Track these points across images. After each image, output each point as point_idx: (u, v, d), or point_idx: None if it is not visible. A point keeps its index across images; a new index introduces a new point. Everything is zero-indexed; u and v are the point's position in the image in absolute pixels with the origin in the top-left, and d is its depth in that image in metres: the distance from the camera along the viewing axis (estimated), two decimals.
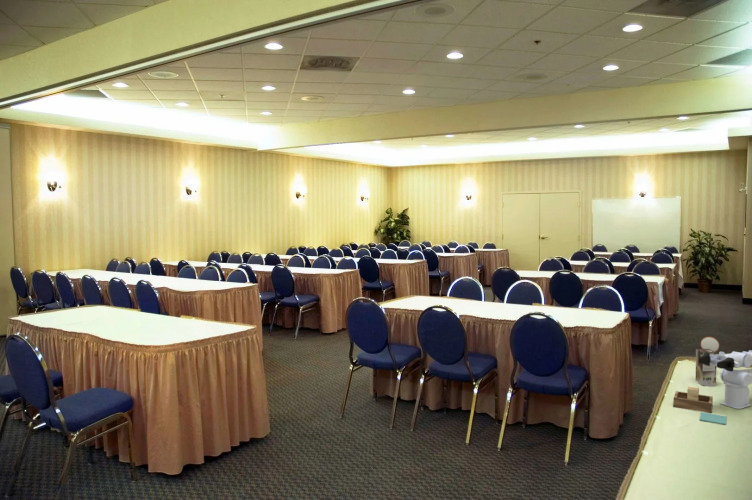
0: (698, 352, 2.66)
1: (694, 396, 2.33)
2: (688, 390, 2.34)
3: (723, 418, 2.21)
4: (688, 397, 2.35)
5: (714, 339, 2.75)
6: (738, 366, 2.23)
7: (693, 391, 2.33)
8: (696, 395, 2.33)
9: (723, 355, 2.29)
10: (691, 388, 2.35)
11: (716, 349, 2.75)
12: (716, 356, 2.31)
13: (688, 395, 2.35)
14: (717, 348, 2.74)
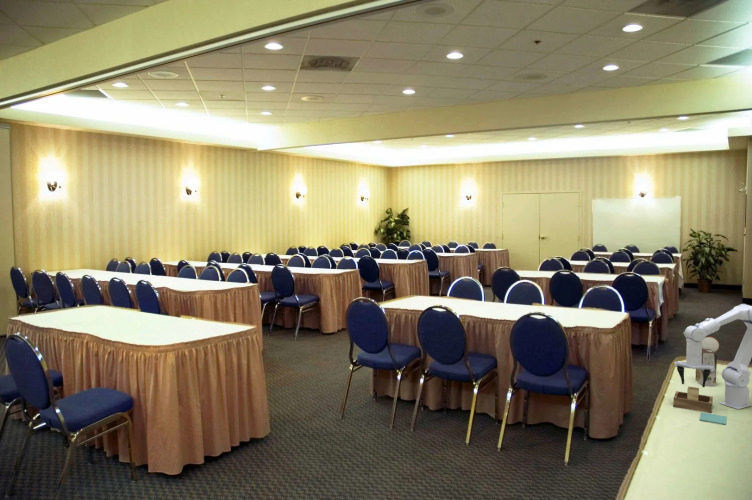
0: None
1: (694, 396, 2.33)
2: (688, 390, 2.34)
3: (723, 418, 2.21)
4: (688, 397, 2.35)
5: (714, 339, 2.75)
6: (713, 368, 2.30)
7: (693, 391, 2.33)
8: (696, 395, 2.33)
9: (695, 367, 2.32)
10: (691, 388, 2.35)
11: (716, 349, 2.75)
12: None
13: (688, 395, 2.35)
14: (717, 348, 2.74)
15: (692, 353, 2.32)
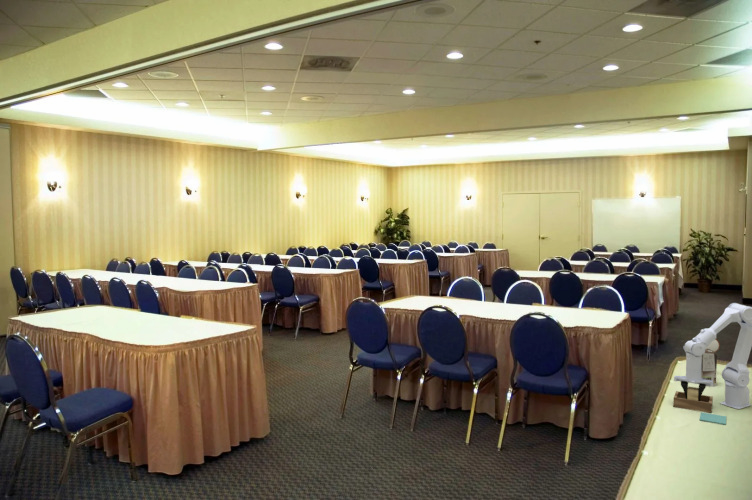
0: None
1: (694, 396, 2.33)
2: (688, 390, 2.34)
3: (723, 418, 2.21)
4: (688, 397, 2.35)
5: None
6: None
7: (693, 391, 2.33)
8: (696, 395, 2.33)
9: None
10: (691, 388, 2.35)
11: (716, 349, 2.75)
12: None
13: (688, 395, 2.35)
14: (717, 348, 2.74)
15: (692, 368, 2.32)
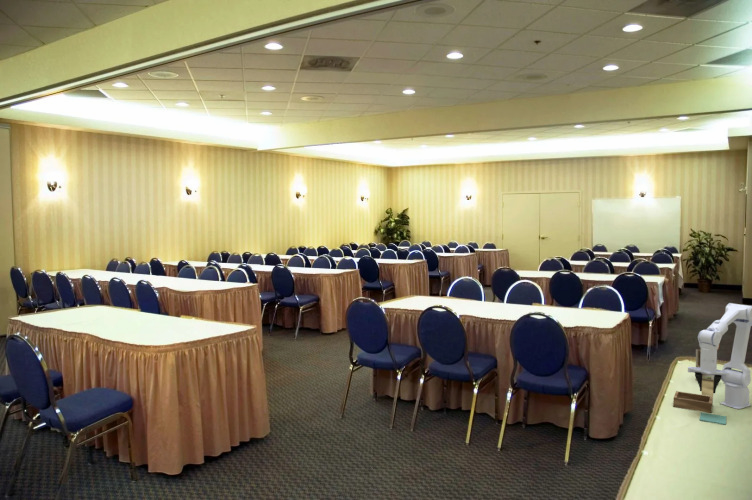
0: (698, 352, 2.66)
1: (709, 388, 2.22)
2: (703, 382, 2.24)
3: (723, 418, 2.21)
4: (703, 389, 2.24)
5: None
6: (729, 374, 2.20)
7: (708, 383, 2.23)
8: (711, 387, 2.22)
9: (710, 373, 2.21)
10: (706, 380, 2.24)
11: None
12: None
13: (703, 387, 2.24)
14: (717, 348, 2.74)
15: (711, 358, 2.21)
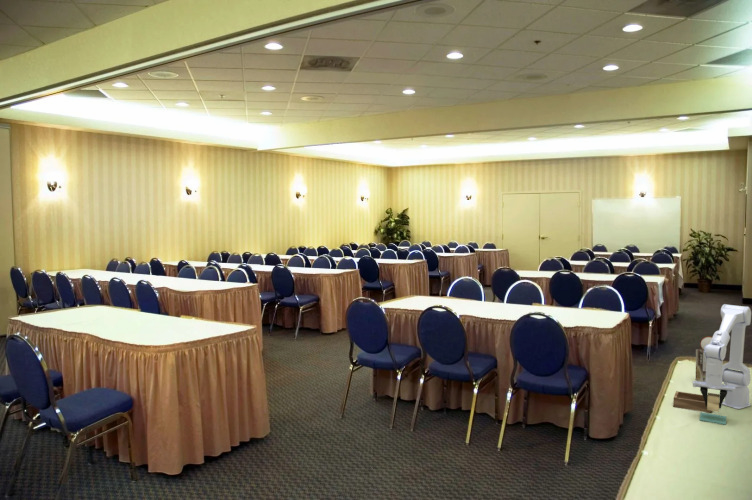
0: (698, 352, 2.66)
1: (715, 403, 2.19)
2: (708, 397, 2.20)
3: (723, 418, 2.21)
4: (708, 404, 2.20)
5: None
6: (735, 389, 2.17)
7: (714, 398, 2.19)
8: (717, 402, 2.19)
9: (715, 388, 2.18)
10: (711, 394, 2.21)
11: None
12: None
13: (708, 402, 2.20)
14: None
15: (717, 373, 2.17)
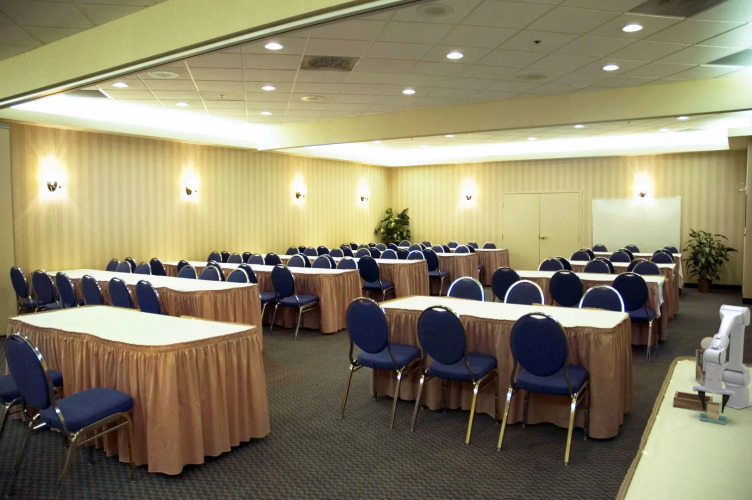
0: (698, 352, 2.66)
1: (714, 412, 2.19)
2: (708, 405, 2.21)
3: (723, 418, 2.21)
4: (708, 413, 2.21)
5: None
6: (735, 393, 2.17)
7: (714, 407, 2.19)
8: (716, 411, 2.19)
9: (715, 392, 2.18)
10: (711, 403, 2.21)
11: None
12: None
13: (708, 410, 2.21)
14: None
15: (717, 378, 2.17)
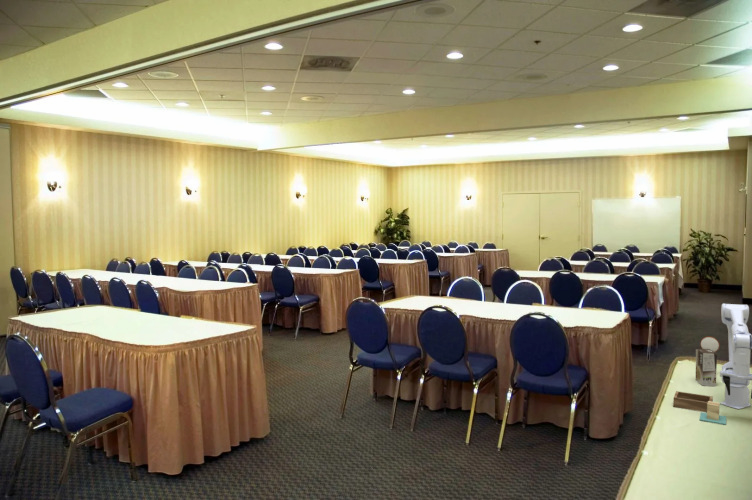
0: (698, 352, 2.66)
1: (714, 412, 2.19)
2: (708, 405, 2.21)
3: (723, 418, 2.21)
4: (708, 413, 2.21)
5: (714, 339, 2.75)
6: None
7: (713, 407, 2.19)
8: (716, 411, 2.19)
9: (743, 378, 2.17)
10: (711, 403, 2.21)
11: (716, 349, 2.75)
12: None
13: (708, 410, 2.21)
14: (717, 348, 2.74)
15: (748, 362, 2.17)
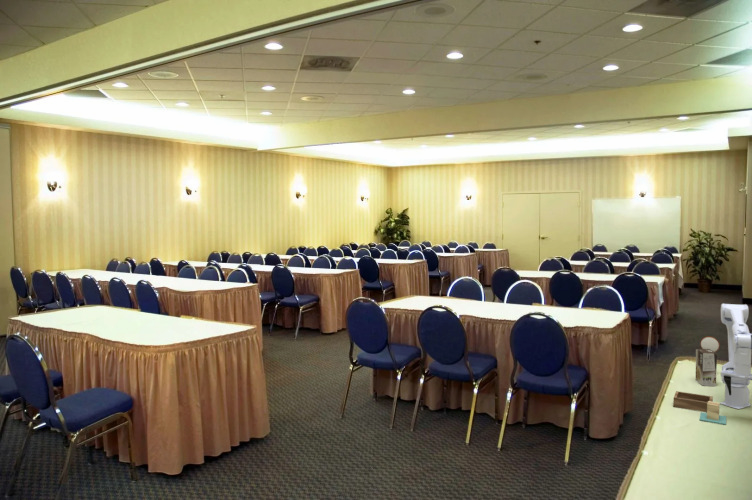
0: (698, 352, 2.66)
1: (714, 412, 2.19)
2: (708, 405, 2.21)
3: (723, 418, 2.21)
4: (708, 413, 2.21)
5: (714, 339, 2.75)
6: None
7: (713, 407, 2.19)
8: (716, 411, 2.19)
9: (744, 377, 2.17)
10: (711, 403, 2.21)
11: (716, 349, 2.75)
12: None
13: (708, 410, 2.21)
14: (717, 348, 2.74)
15: (749, 362, 2.17)
